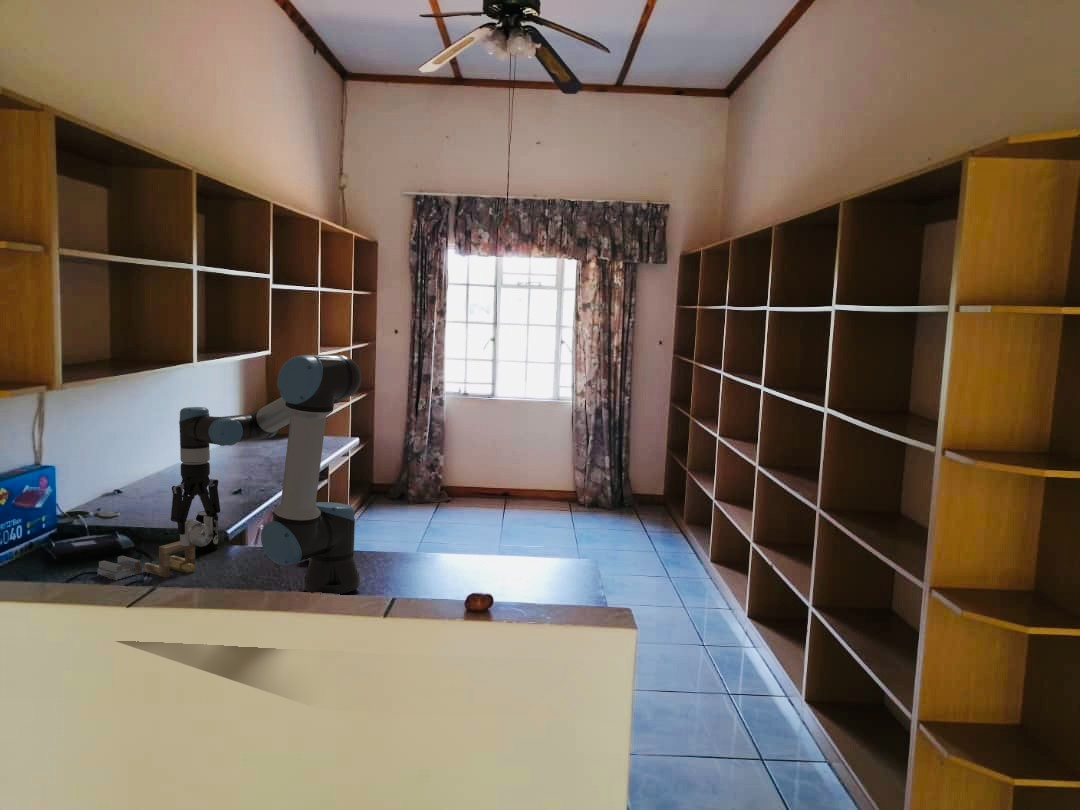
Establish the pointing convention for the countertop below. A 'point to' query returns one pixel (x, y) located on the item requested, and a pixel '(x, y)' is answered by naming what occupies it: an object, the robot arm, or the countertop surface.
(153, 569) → the tan wooden angular frame
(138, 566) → the v block
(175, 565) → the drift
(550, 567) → the countertop surface
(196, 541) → the grey rounded piece
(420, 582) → the countertop surface
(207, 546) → the beverage can
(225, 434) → the robot arm
